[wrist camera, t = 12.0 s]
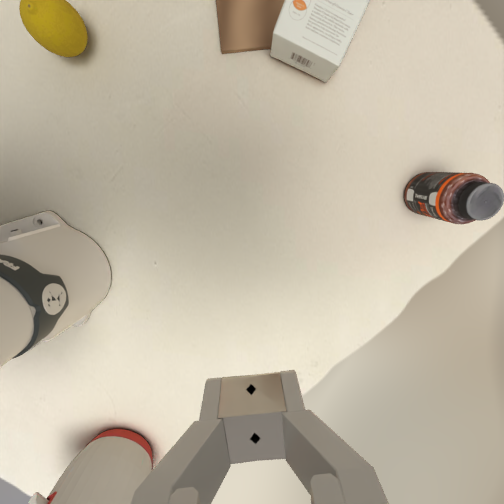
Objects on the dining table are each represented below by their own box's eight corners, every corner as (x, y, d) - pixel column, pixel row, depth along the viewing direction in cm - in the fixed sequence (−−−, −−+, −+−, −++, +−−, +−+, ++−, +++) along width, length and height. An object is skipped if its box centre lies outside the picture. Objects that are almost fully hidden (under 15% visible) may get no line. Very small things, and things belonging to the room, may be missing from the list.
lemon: (57, 9, 34) (1, -38, 27) (102, 23, 35) (60, -18, 27) (53, 59, 36) (-1, 28, 28) (97, 72, 36) (55, 46, 28)
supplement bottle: (394, 204, 41) (445, 216, 30) (416, 165, 39) (479, 163, 28) (428, 220, 42) (491, 237, 31) (452, 182, 40) (526, 186, 29)
